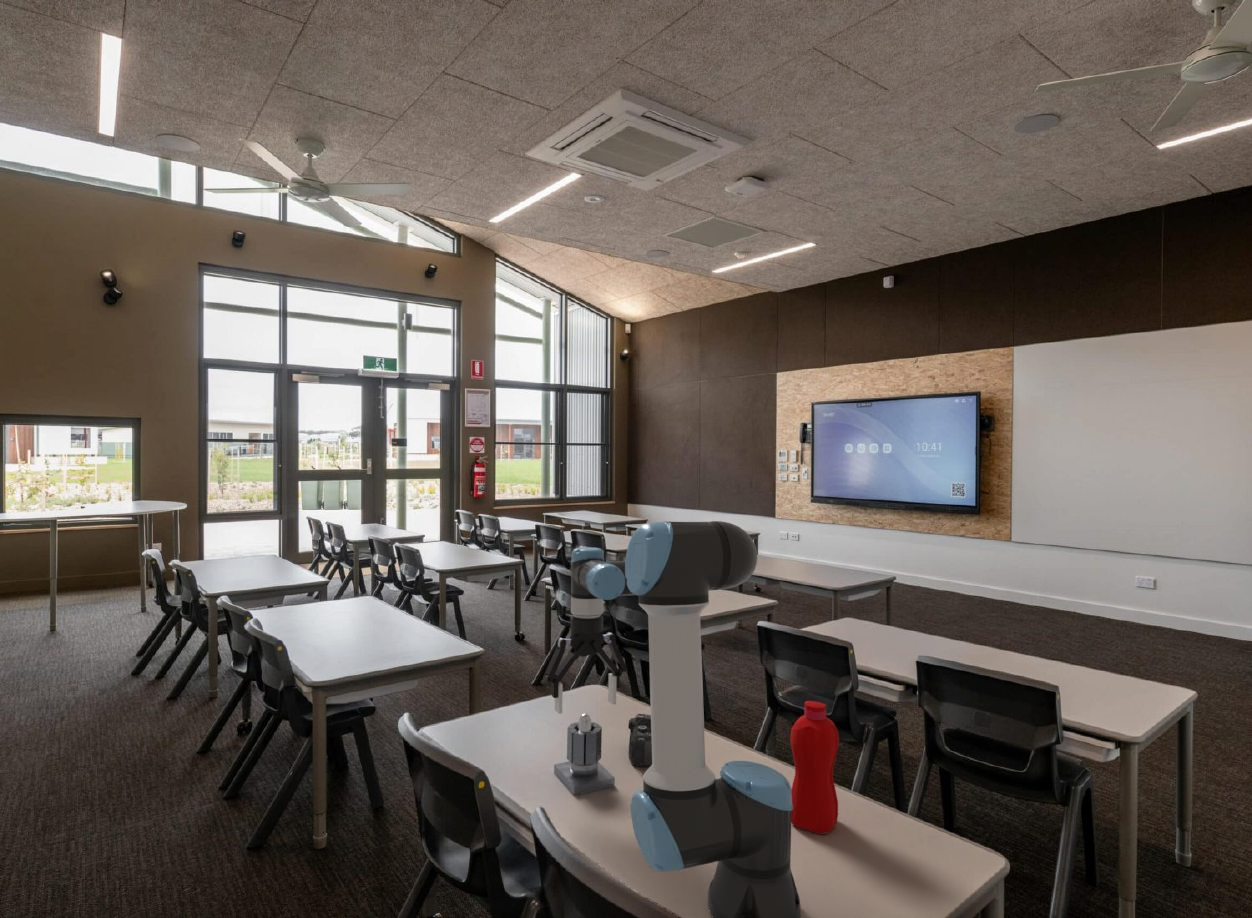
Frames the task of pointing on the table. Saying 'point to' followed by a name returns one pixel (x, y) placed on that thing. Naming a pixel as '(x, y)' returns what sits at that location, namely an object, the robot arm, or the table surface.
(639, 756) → the camera
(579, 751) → the hub
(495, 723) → the table surface
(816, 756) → the water bottle
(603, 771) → the shaft block
